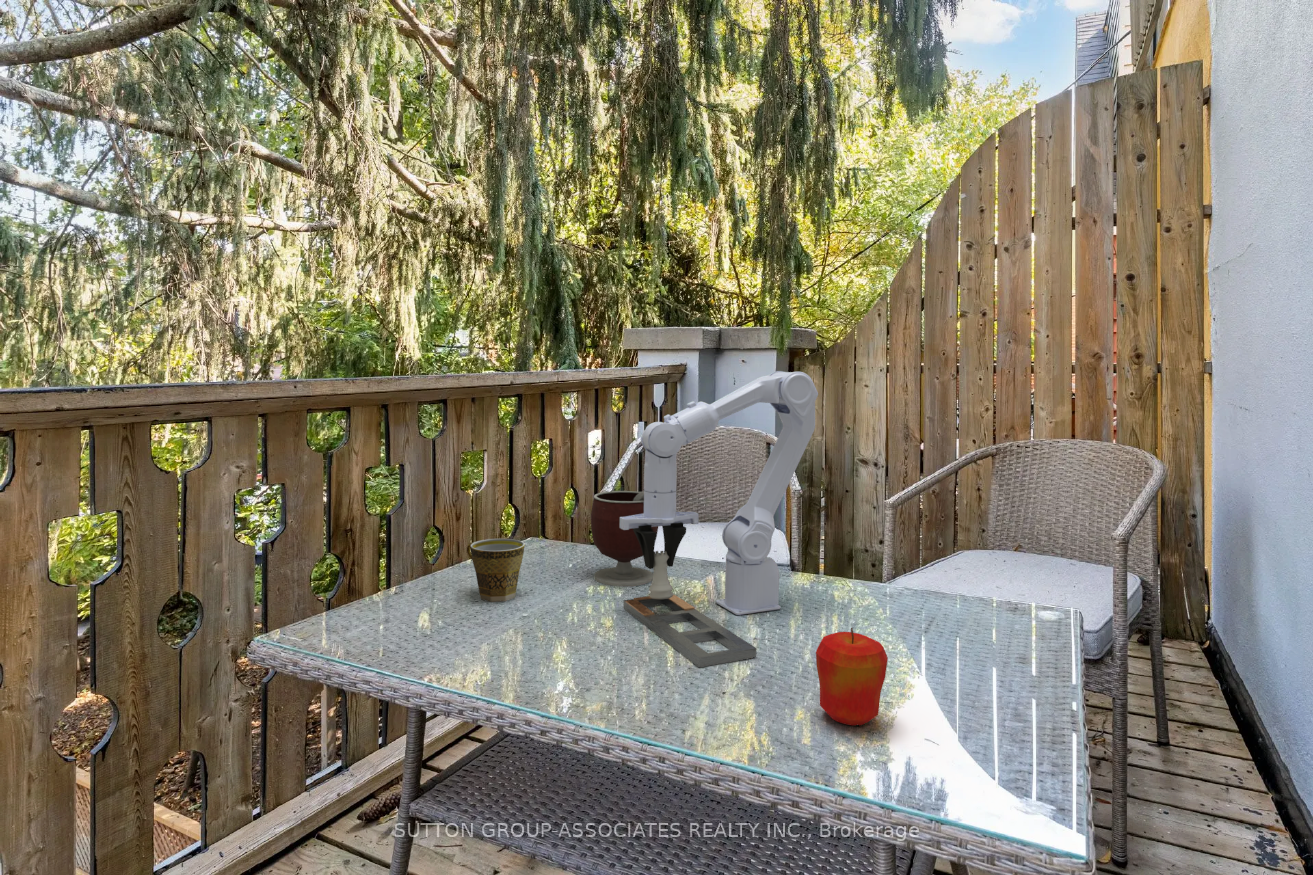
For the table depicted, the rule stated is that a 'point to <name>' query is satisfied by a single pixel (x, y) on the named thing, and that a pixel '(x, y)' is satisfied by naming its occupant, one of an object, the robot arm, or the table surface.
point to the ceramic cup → (497, 567)
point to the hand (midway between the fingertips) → (658, 566)
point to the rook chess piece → (660, 578)
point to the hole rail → (687, 639)
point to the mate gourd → (618, 537)
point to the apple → (850, 676)
